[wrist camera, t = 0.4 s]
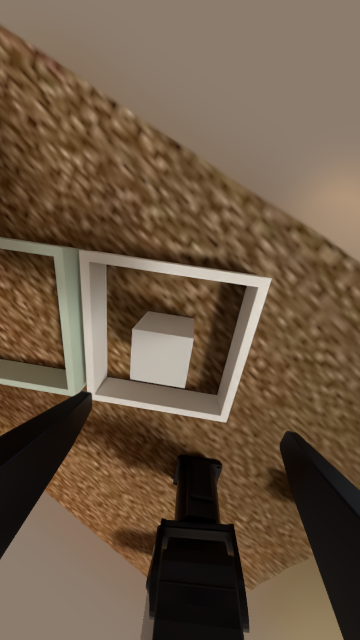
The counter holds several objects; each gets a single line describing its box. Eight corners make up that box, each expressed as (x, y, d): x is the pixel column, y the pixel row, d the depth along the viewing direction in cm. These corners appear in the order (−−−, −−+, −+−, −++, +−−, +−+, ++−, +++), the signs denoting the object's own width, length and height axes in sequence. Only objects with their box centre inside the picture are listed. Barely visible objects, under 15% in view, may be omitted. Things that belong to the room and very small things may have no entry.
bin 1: (90, 379, 22) (75, 396, 19) (-26, 359, 23) (-57, 374, 20) (84, 249, 17) (62, 247, 14) (-68, 226, 17) (-119, 220, 14)
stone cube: (187, 358, 20) (184, 388, 16) (144, 351, 20) (130, 379, 16) (194, 318, 18) (193, 338, 14) (147, 310, 19) (132, 328, 14)
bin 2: (222, 401, 22) (226, 422, 19) (101, 380, 22) (87, 398, 19) (258, 275, 16) (271, 278, 14) (98, 251, 17) (79, 249, 14)
